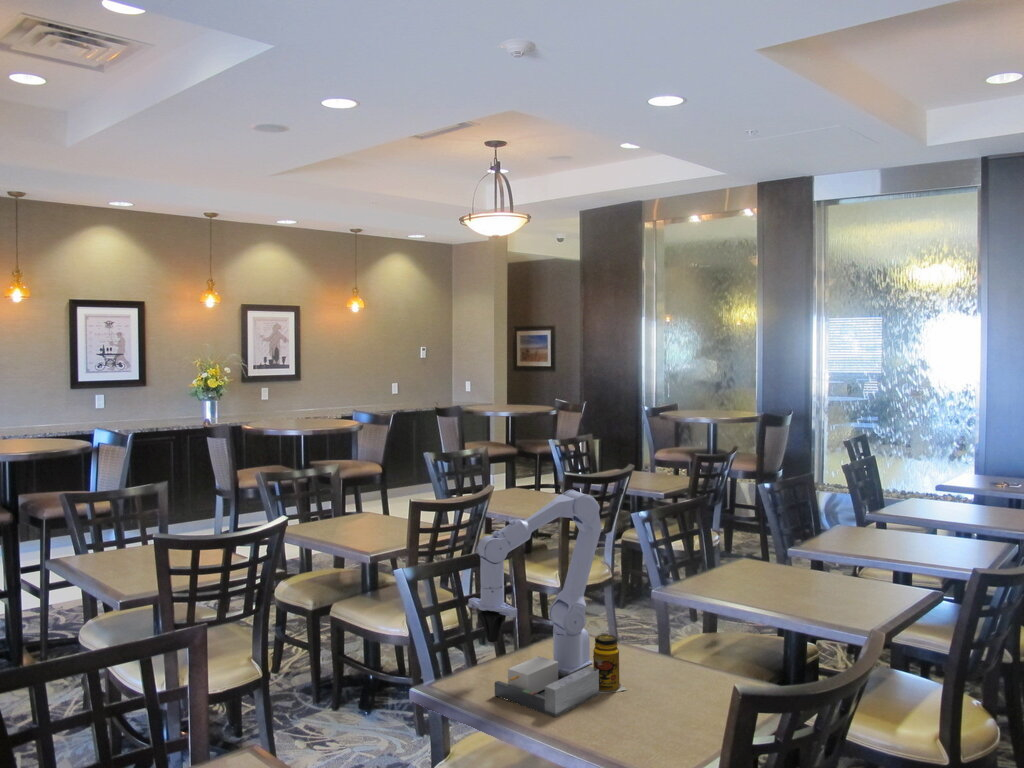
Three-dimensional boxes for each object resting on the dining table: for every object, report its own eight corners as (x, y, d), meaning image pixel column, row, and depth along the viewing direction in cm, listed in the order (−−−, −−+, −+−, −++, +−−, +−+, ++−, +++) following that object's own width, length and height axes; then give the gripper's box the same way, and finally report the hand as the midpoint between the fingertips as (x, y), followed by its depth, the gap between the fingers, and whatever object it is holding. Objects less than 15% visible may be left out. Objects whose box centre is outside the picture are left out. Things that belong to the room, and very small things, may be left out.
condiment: (598, 694, 193) (598, 643, 192) (584, 681, 201) (584, 632, 200) (627, 690, 195) (627, 639, 195) (612, 677, 203) (611, 628, 203)
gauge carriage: (538, 676, 201) (538, 656, 201) (558, 682, 197) (558, 661, 197) (501, 693, 191) (500, 671, 191) (520, 700, 187) (520, 678, 187)
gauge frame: (539, 676, 204) (539, 651, 204) (598, 695, 192) (598, 669, 192) (494, 696, 192) (494, 670, 192) (555, 717, 180) (554, 690, 180)
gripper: (459, 584, 205) (460, 638, 205) (503, 594, 195) (503, 652, 196) (479, 578, 210) (480, 631, 211) (522, 588, 201) (523, 644, 201)
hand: (492, 641), depth 203 cm, fingers closed
